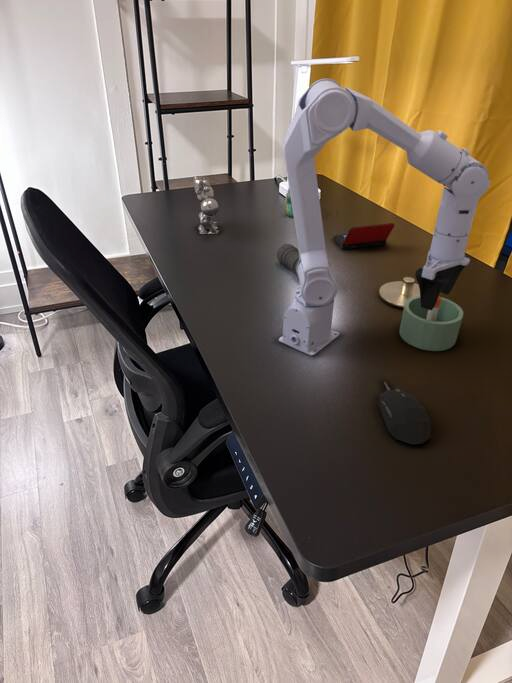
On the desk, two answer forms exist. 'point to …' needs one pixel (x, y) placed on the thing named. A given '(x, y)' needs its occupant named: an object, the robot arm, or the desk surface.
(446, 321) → the canister
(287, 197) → the green jar
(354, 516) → the desk surface
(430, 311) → the marker
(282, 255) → the flashlight
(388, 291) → the canister lid
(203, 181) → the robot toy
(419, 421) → the gaming mouse
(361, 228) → the handheld console
